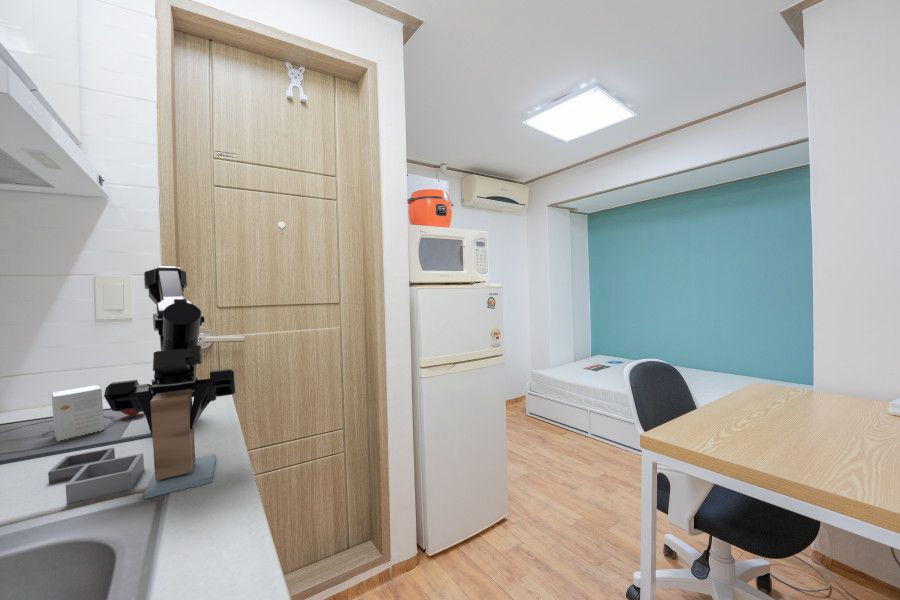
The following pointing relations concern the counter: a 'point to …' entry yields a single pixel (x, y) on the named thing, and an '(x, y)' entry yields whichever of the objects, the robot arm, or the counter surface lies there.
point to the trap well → (77, 464)
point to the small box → (77, 412)
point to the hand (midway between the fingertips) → (172, 431)
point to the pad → (183, 478)
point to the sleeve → (105, 478)
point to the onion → (130, 412)
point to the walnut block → (172, 433)
